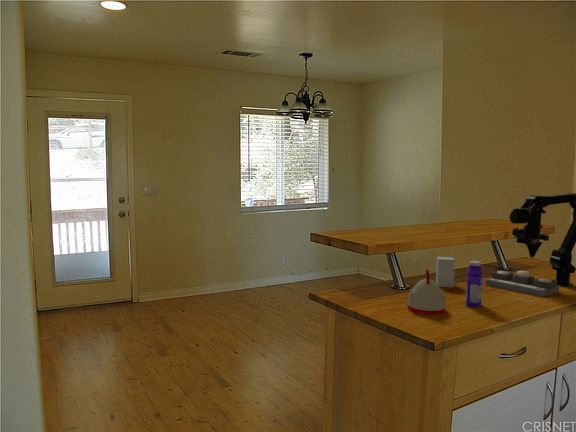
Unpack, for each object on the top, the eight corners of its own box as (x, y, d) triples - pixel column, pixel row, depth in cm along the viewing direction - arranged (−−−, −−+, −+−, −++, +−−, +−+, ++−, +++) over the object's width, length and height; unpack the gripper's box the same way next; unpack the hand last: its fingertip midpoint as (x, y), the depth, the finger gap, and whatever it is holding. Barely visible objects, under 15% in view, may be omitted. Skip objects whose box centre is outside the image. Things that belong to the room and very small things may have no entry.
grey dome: (444, 305, 191) (445, 268, 189) (447, 316, 178) (448, 275, 176) (407, 303, 194) (408, 266, 192) (407, 313, 181) (408, 273, 179)
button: (500, 275, 230) (500, 270, 229) (510, 277, 226) (511, 272, 225) (494, 277, 227) (495, 271, 226) (505, 279, 223) (505, 273, 222)
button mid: (520, 275, 222) (520, 270, 222) (531, 277, 218) (531, 272, 218) (515, 277, 219) (515, 271, 219) (526, 279, 215) (526, 273, 215)
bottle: (479, 308, 187) (481, 263, 185) (463, 306, 190) (465, 262, 188) (482, 304, 193) (484, 260, 191) (467, 302, 196) (469, 259, 194)
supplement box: (454, 287, 219) (455, 259, 217) (436, 286, 220) (437, 259, 219) (452, 283, 226) (453, 256, 225) (435, 283, 227) (436, 256, 226)
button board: (501, 280, 233) (501, 270, 232) (558, 291, 212) (559, 280, 212) (485, 284, 224) (485, 274, 223) (543, 297, 204) (544, 285, 203)
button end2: (541, 283, 215) (542, 277, 214) (553, 285, 211) (553, 280, 211) (536, 285, 212) (536, 279, 211) (548, 287, 208) (548, 281, 207)
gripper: (526, 220, 232) (524, 252, 234) (505, 223, 221) (504, 257, 223) (550, 222, 224) (548, 256, 225) (530, 225, 212) (528, 260, 214)
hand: (531, 257), depth 222 cm, fingers closed
